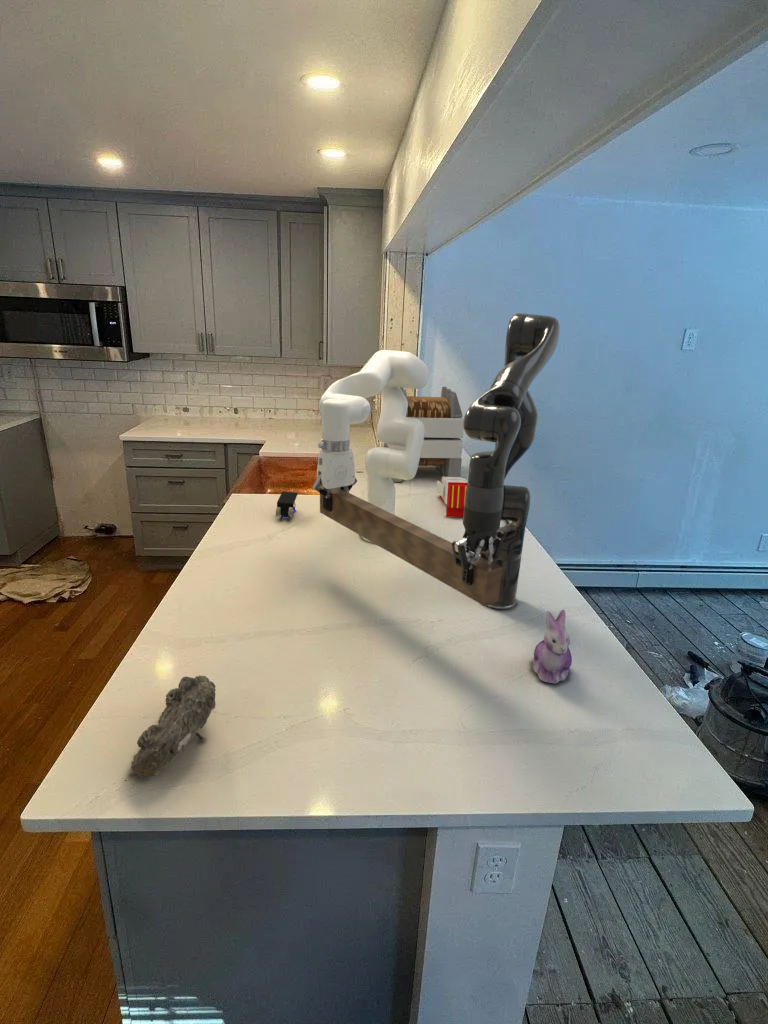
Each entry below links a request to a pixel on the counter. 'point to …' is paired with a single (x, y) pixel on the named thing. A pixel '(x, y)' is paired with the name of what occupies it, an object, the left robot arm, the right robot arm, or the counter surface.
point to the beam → (413, 545)
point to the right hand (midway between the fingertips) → (475, 580)
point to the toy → (453, 495)
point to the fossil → (175, 725)
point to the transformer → (438, 431)
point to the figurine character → (286, 505)
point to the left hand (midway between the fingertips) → (335, 508)
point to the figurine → (553, 651)
